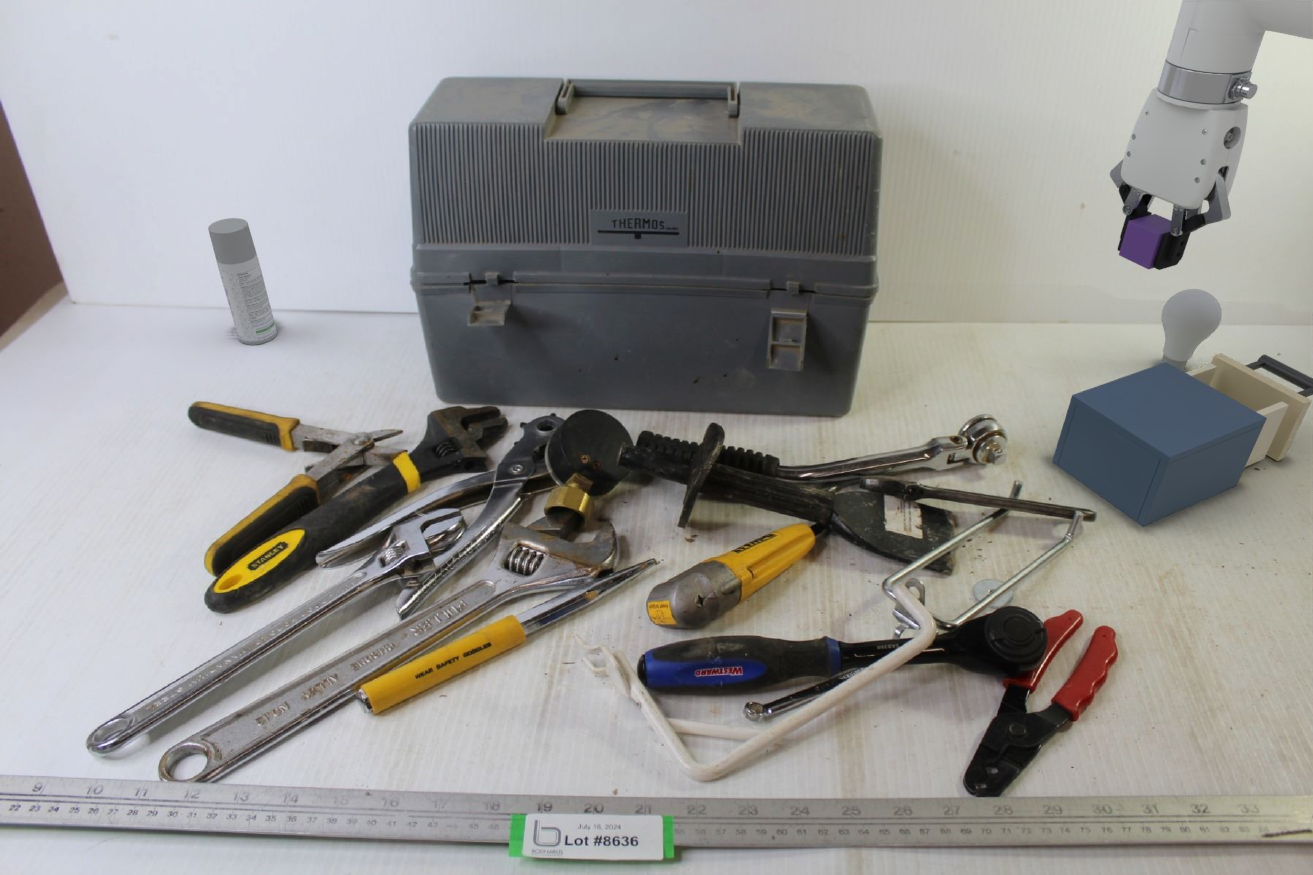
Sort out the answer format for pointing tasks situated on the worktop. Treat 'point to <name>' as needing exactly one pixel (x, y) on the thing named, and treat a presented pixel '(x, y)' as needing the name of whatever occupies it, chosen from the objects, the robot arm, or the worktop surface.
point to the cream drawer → (1262, 398)
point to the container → (242, 280)
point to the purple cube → (1144, 239)
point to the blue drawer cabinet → (1156, 442)
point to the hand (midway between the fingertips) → (1147, 256)
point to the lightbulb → (1188, 324)
